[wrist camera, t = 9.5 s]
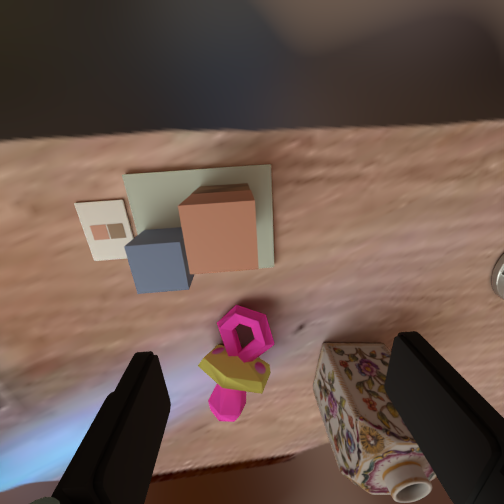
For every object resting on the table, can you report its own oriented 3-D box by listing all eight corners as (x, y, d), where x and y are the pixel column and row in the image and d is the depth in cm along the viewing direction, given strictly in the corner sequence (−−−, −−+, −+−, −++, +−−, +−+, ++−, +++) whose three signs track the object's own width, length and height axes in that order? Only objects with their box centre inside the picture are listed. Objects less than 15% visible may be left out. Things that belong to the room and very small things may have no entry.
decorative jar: (321, 340, 41) (378, 466, 24) (385, 340, 42) (482, 462, 25) (310, 388, 46) (352, 522, 29) (368, 388, 46) (441, 518, 30)
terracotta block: (251, 190, 24) (254, 200, 18) (254, 244, 26) (258, 269, 21) (191, 193, 24) (177, 205, 18) (200, 249, 26) (190, 274, 21)
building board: (270, 164, 30) (271, 164, 29) (273, 264, 35) (274, 267, 34) (124, 174, 29) (121, 174, 28) (150, 274, 34) (148, 277, 34)
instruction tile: (123, 199, 30) (122, 199, 30) (138, 256, 33) (137, 257, 33) (75, 202, 30) (73, 203, 30) (95, 260, 33) (94, 261, 33)
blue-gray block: (190, 226, 31) (179, 241, 26) (197, 267, 34) (189, 289, 28) (144, 230, 31) (123, 246, 25) (154, 270, 33) (137, 293, 28)
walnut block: (247, 183, 30) (250, 189, 24) (250, 228, 32) (253, 244, 26) (199, 186, 29) (190, 193, 24) (206, 232, 32) (199, 249, 26)
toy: (287, 311, 39) (276, 331, 29) (261, 411, 41) (242, 463, 31) (232, 293, 42) (205, 306, 32) (209, 387, 43) (176, 428, 33)
